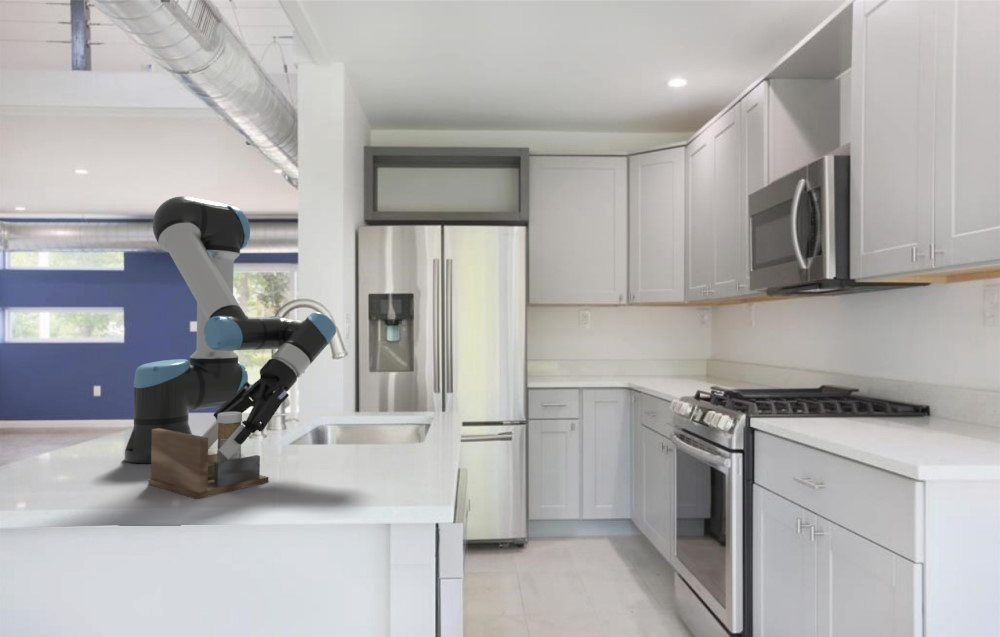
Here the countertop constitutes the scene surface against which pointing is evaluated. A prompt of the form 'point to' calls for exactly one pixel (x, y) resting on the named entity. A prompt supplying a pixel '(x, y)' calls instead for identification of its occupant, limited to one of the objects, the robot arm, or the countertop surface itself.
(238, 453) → the sprinkles bottle
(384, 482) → the countertop surface
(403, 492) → the countertop surface
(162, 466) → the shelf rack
